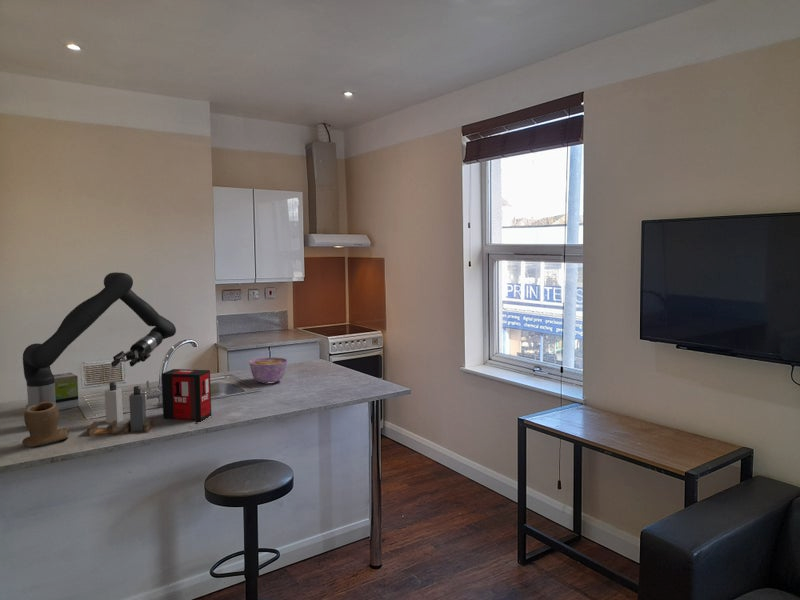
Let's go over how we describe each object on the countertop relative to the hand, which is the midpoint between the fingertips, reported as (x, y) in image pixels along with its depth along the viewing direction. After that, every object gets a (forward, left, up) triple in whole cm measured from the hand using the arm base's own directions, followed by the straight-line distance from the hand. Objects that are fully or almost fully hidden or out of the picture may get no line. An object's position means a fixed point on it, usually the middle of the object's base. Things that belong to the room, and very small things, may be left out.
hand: (121, 364), depth 225 cm
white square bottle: (-1, -7, -23) cm, 24 cm away
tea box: (-33, +21, -23) cm, 45 cm away
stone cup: (-18, -26, -23) cm, 40 cm away
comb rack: (+5, -20, -23) cm, 31 cm away
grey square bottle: (+11, -20, -22) cm, 32 cm away
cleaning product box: (+27, -6, -23) cm, 36 cm away
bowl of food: (+58, +52, -23) cm, 81 cm away
